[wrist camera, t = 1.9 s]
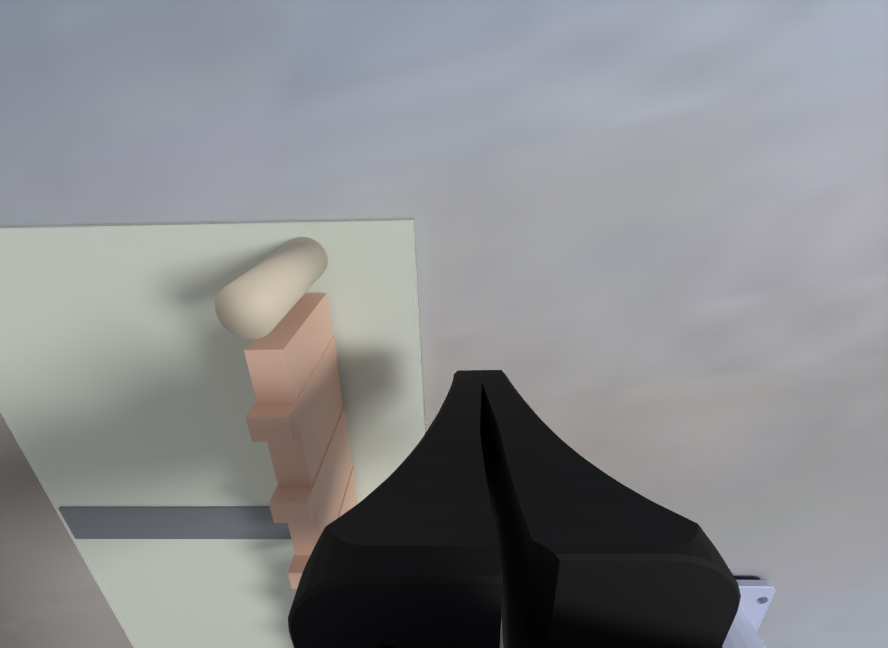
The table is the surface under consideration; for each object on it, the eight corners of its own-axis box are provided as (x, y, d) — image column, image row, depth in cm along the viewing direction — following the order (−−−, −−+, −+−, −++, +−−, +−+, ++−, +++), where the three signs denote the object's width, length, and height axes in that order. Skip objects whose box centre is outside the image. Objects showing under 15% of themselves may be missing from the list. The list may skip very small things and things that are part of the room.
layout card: (438, 679, 25) (437, 687, 25) (156, 676, 25) (152, 684, 25) (413, 218, 14) (412, 220, 13) (-93, 228, 14) (-107, 231, 14)
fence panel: (363, 508, 18) (337, 619, 14) (331, 508, 18) (295, 619, 14) (324, 236, 13) (266, 285, 9) (280, 237, 13) (203, 286, 9)
